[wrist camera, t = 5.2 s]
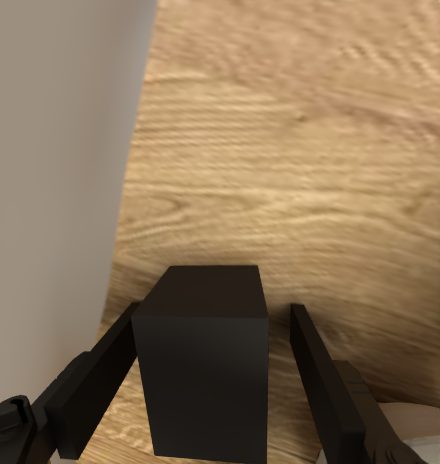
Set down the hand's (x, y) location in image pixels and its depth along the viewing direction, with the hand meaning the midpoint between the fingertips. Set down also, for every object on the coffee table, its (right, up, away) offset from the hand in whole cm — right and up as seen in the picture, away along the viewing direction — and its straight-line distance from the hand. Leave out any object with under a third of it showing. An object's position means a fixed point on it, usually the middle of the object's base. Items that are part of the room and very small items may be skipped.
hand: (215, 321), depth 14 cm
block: (0, 0, 0) cm, 0 cm away
